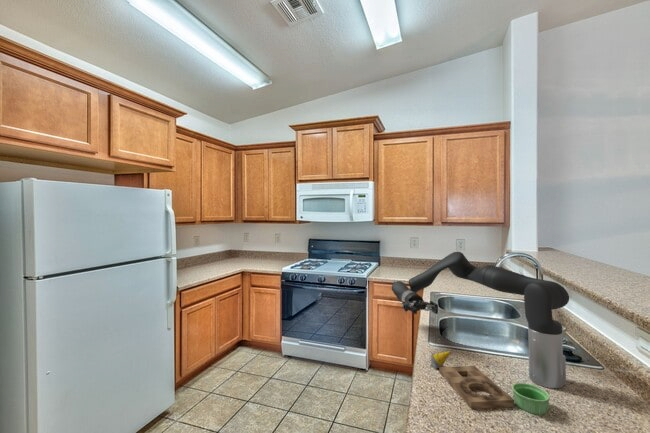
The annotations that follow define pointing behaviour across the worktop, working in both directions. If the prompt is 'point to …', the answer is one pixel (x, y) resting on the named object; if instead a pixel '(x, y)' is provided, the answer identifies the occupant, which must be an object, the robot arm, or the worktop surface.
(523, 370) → the worktop surface
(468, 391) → the socket board
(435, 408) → the worktop surface
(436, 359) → the drill bit
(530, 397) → the ramekin
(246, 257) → the worktop surface
